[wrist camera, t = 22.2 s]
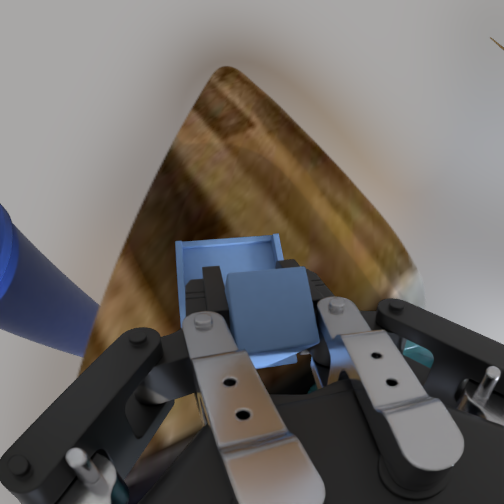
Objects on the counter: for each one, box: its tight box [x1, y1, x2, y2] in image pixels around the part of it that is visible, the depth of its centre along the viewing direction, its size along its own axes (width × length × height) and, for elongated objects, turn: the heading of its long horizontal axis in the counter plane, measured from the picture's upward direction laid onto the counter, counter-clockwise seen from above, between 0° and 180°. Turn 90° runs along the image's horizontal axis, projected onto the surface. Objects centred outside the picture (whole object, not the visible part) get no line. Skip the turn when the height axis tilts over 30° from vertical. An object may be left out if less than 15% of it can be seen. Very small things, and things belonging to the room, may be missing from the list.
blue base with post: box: [175, 234, 320, 369], centre depth 15 cm, size 8×7×11 cm
